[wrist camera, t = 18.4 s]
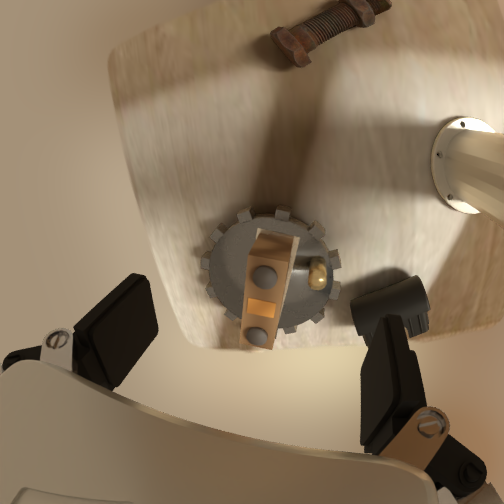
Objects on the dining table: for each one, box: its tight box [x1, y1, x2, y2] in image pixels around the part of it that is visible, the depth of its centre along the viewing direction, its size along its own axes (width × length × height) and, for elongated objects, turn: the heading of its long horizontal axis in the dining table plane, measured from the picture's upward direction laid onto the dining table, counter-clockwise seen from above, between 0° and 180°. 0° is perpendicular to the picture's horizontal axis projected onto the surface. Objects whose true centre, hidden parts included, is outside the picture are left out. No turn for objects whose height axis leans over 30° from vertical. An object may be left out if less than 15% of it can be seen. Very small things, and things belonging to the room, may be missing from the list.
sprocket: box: [201, 205, 342, 334], centre depth 35 cm, size 18×18×6 cm
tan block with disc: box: [240, 233, 293, 350], centre depth 33 cm, size 4×12×7 cm, turn 174°
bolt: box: [270, 0, 392, 68], centre depth 23 cm, size 6×5×15 cm
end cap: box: [350, 275, 430, 349], centre depth 35 cm, size 10×7×7 cm
